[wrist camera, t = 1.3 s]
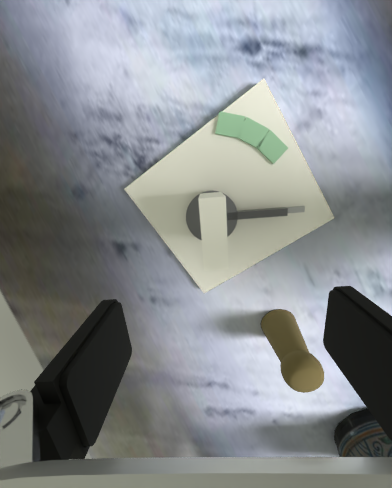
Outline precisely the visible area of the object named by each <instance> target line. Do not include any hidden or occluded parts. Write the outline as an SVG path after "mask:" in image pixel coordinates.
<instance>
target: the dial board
mask: <svg viewBox="0 0 392 488" xmlns="http://www.w3.org/2000/svg"><path fill="white" fill-rule="evenodd" d="M124 190H125V191H126V192H127V193H128V195H129V196H130V197H131V199H132V200H133V201H134V203H135V204H136V205H137V207H138V208H139V209H140V210H141V212H142V213H143V214H144V216H145V217H146V218H147V220H148V221H149V222H150V223H151V225H152V226H153V227H154V229H155V230H156V231H157V233H158V234H159V235H160V237H161V238H162V239H163V240H164V242H165V243H166V244H167V246H168V247H169V248H170V250H171V251H172V252H173V254H174V255H175V256H176V257H177V259H178V260H179V261H180V263H181V264H182V265H183V267H184V268H185V269H186V270H187V272H188V273H189V274H190V276H191V277H192V278H193V280H194V281H195V282H196V284H197V285H198V286H199V287H200V289H201V290H202V291H203V293H206V292H208V291H210V290H211V289H213V288H215V287H216V286H218V285H220V284H222V283H223V282H225V281H227V280H229V279H230V278H232V277H234V276H235V275H237V274H239V273H241V272H242V271H244V270H246V269H248V268H249V267H251V266H253V265H254V264H256V263H258V262H260V261H261V260H263V259H265V258H267V257H268V256H270V255H272V254H274V253H275V252H277V251H279V250H280V249H282V248H284V247H286V246H287V245H289V244H291V243H293V242H294V241H296V240H298V239H299V238H301V237H303V236H305V235H306V234H308V233H310V232H312V231H313V230H315V229H317V228H318V227H320V226H322V225H324V224H325V223H327V222H329V221H331V220H332V219H334V216H333V214H332V212H331V210H330V208H329V206H328V204H327V202H326V200H325V198H324V196H323V194H322V192H321V190H320V188H319V186H318V184H317V182H316V180H315V178H314V176H313V174H312V172H311V170H310V168H309V166H308V164H307V162H306V160H305V158H304V156H303V154H302V152H301V150H300V148H299V146H298V144H297V142H296V140H295V138H294V136H293V134H292V133H291V131H290V129H289V127H288V125H287V123H286V121H285V119H284V117H283V115H282V113H281V111H280V109H279V107H278V105H277V103H276V101H275V99H274V97H273V95H272V93H271V91H270V89H269V87H268V85H267V83H266V81H265V79H262V80H261V81H260V82H259V83H257V84H256V85H255V86H254V87H252V88H251V89H250V90H249V91H247V92H246V93H245V94H244V95H242V96H241V97H240V98H238V99H237V100H236V101H235V102H233V103H232V104H231V105H230V106H228V107H227V108H226V109H225V110H223V111H222V112H220V111H219V114H218V115H217V116H216V117H214V118H213V119H212V120H211V121H209V122H208V123H207V124H206V125H204V126H203V127H202V128H201V129H199V130H198V131H197V132H195V133H194V134H193V135H192V136H190V137H189V138H188V139H187V140H185V141H184V142H183V143H182V144H180V145H179V146H178V147H177V148H175V149H174V150H173V151H171V152H170V153H169V154H168V155H166V156H165V157H164V158H163V159H161V160H160V161H159V162H158V163H156V164H155V165H154V166H153V167H151V168H150V169H149V170H147V171H146V172H145V173H144V174H142V175H141V176H140V177H139V178H137V179H136V180H135V181H134V182H132V183H131V184H130V185H128V186H127V187H126V188H125V189H124ZM210 190H214V191H219V192H222V193H224V194H226V195H227V196H228V197H229V198H230V199H231V200H232V201H233V202H234V204H235V206H236V208H237V211H239V210H252V209H265V208H278V207H286V208H288V215H287V216H279V217H265V218H251V219H238V220H237V224H236V227H235V229H234V230H233V232H232V233H231V234H230V235H229V236H228V237H227V241H228V267H229V269H227V270H209V271H204V263H203V251H202V240H199V239H198V238H196V237H195V236H194V235H193V234H192V233H191V232H190V230H189V228H188V226H187V223H186V211H187V208H188V206H189V204H190V202H191V201H192V200H193V198H194V197H196V196H197V195H198V194H200V193H202V192H205V191H210Z"/></svg>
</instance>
